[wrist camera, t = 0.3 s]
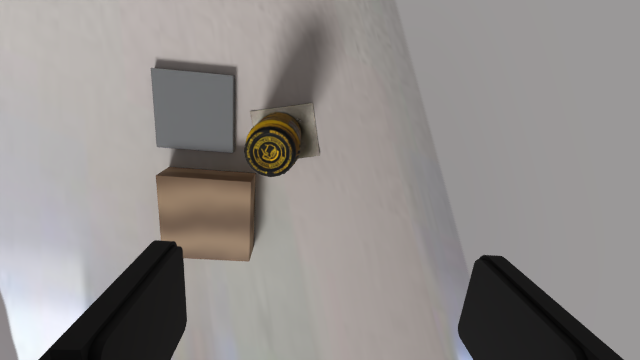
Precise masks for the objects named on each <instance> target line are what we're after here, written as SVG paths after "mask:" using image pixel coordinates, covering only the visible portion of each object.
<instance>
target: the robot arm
mask: <svg viewBox="0 0 640 360" xmlns="http://www.w3.org/2000/svg"><path fill="white" fill-rule="evenodd" d="M186 322H187V314H186V297H185V280H184V263H183V249H182V247H181V246H177V244H176V242H175V241H153V242H152V243H151V244H150V245H149V246H148V247H147V248H146V249H145V250H144V251H143V252H142V253H141V254H140V255H139V256H138V258H137V259H136V260H135V261H134V262H133V263H132V264H131V265H130V266H129V267H128V268H127V269H126V270H125V271H124V272H123V273H122V274H121V275H120V276H119V277H118V278H117V279H116V280H115V281H114V282H113V283H112V284H111V285H110V286H109V287H108V288H107V289H106V290H105V292H104V293H103V294H102V295H101V296H100V297H99V298H98V299H97V300H96V301H95V302H94V303H93V304H92V305H91V306H90V307H89V308H88V309H87V310H86V311H85V312H84V313H83V314H82V315H81V316H80V317H79V318H78V319H77V320H76V321H75V322H74V323H73V324H72V326H71V327H70V328H69V329H68V330H67V331H66V332H65V333H64V334H63V335H62V336H61V337H60V338H59V339H58V340H57V341H56V342H55V343H54V344H53V345H52V346H51V347H50V348H49V349H48V350H47V351H46V352H45V353H44V355H43V356H42V357H41V358H40V359H39V360H171V358H172V355H173V353H174V351H175V349H176V347H177V345H178V343H179V341H180V339H181V337H182V335H183V333H184V331H185V327H186ZM458 333H459V337H460V339H461V340H462V342H463V344H464V345H465V347H466V348H467V350H468V352H469V353H470V355H471V356H472V358H473V360H623V359H622V358H621V357H620V356H619V355H618V354H616V353H615V352H614V351H613V350H612V349H611V348H609V347H608V346H607V345H606V344H605V343H603V342H602V341H601V340H600V339H599V338H598V337H596V336H595V335H594V334H593V333H592V332H591V331H590V330H588V329H587V328H586V327H585V326H584V325H582V324H581V323H580V322H579V321H578V320H577V319H575V318H574V317H573V316H572V315H571V314H570V313H568V312H567V311H566V310H565V309H564V308H562V307H561V306H560V305H559V304H558V303H557V302H555V301H554V300H553V299H552V298H551V297H550V296H549V295H547V294H546V293H545V292H544V291H543V290H542V289H540V288H539V287H538V286H537V285H536V284H534V283H533V282H532V281H531V280H530V279H529V278H527V277H526V276H525V275H524V274H523V273H522V272H521V271H519V270H518V269H517V268H516V267H515V266H513V265H512V264H511V263H510V262H509V261H508V260H506V259H505V258H504V257H502V256H491V255H490V256H489V255H483V256H481V257H480V258H479V259H478V260H476V261H475V263H474V267H473V271H472V274H471V278H470V282H469V286H468V290H467V294H466V298H465V301H464V305H463V309H462V313H461V317H460V321H459V324H458Z"/></svg>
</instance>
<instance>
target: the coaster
mask: <svg viewBox="0 0 640 360" xmlns="http://www.w3.org/2000/svg"><path fill="white" fill-rule="evenodd" d="M151 78H152V91H153V104H154V117H155V130H156V143H157V147H163V148H176V149H189V150H202V151H215V152H228V153H233V152H234V103H235V76H232V75H222V74H211V73H201V72H190V71H180V70H169V69H159V68H151Z"/></svg>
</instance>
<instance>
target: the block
mask: <svg viewBox="0 0 640 360" xmlns="http://www.w3.org/2000/svg"><path fill="white" fill-rule="evenodd" d="M255 174H256V173H245V172H231V171H217V170H203V169H190V168H176V167H168V168H167V169H165V170H164V171H162V172H161V173H159V174H158V175H156V183H157V196H158V208H159V220H160V233H161V241H175V242H176V244H177V246H181V247H182V249H183V258H191V259H211V260H231V261H249V260H250V257H251V254H252V250H253V247H254V212H255Z"/></svg>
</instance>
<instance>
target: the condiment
mask: <svg viewBox="0 0 640 360" xmlns="http://www.w3.org/2000/svg"><path fill="white" fill-rule="evenodd" d="M250 114H251V119H252V124H253V128H252V129H251V131H250V132H249V134H248V136H247V139H246V144H245V149H244V152H245V157H246V160H247V162H248V164H249V165H250V167H251V168H252V169H253V170H254V171H256V172H257V173H258V174H261V175H264V176H268V177H275V176H280V175H281V174H285V173H286V172H287V171H288V170H289V169H290V168H291V167H292V166H293V165H294V164H295V162H296V161H297V159H298V158H305V157H313V156H320V154H319V147H318V140H317V132H316V126H315V125H316V124H315V117H314V110H313V103H308V104H301V105H294V106H287V107H279V108H272V109H265V110H257V111H251V112H250ZM297 119H298V120H297ZM299 120H301V122H300V121H299Z"/></svg>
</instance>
